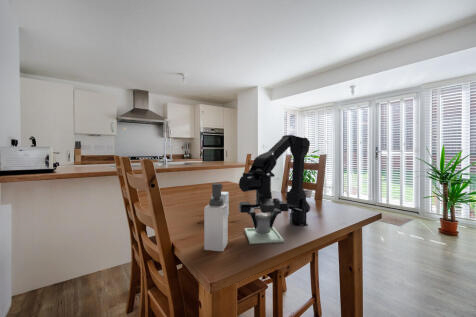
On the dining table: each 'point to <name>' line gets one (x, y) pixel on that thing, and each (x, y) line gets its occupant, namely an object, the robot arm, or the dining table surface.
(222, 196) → the supplement box
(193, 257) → the dining table surface
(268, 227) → the pot
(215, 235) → the soap dispenser
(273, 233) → the tray
